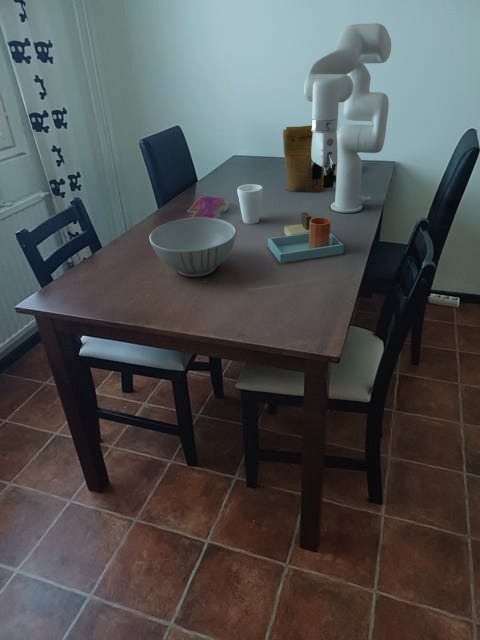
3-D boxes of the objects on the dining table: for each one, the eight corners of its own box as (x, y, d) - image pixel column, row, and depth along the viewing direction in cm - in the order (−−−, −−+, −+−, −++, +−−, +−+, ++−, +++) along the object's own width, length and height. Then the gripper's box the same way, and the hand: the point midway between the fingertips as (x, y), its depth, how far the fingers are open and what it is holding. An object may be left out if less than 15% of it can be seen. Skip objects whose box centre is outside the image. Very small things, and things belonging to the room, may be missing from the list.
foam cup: (260, 225, 180) (260, 192, 173) (237, 225, 182) (235, 191, 175) (264, 216, 188) (264, 184, 181) (241, 216, 190) (240, 183, 183)
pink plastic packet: (215, 230, 179) (214, 217, 176) (178, 228, 182) (176, 215, 179) (234, 203, 203) (234, 191, 200) (201, 202, 206) (199, 190, 203)
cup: (324, 242, 163) (325, 216, 158) (332, 250, 158) (333, 223, 153) (306, 245, 162) (306, 218, 157) (313, 253, 157) (314, 225, 152)
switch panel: (314, 228, 175) (314, 220, 174) (323, 237, 168) (324, 229, 166) (283, 232, 173) (283, 224, 172) (291, 242, 166) (291, 234, 164)
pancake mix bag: (325, 194, 208) (328, 126, 193) (282, 192, 212) (282, 126, 197) (326, 189, 213) (330, 123, 198) (284, 188, 218) (285, 123, 203)
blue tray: (327, 238, 167) (327, 229, 165) (343, 254, 156) (343, 244, 154) (268, 247, 163) (268, 238, 161) (280, 264, 152) (280, 254, 150)
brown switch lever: (301, 224, 171) (301, 212, 168) (305, 224, 171) (306, 211, 169) (306, 229, 167) (306, 216, 164) (310, 229, 167) (311, 216, 165)
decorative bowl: (206, 296, 137) (203, 257, 130) (137, 276, 149) (130, 241, 143) (253, 259, 156) (252, 224, 149) (188, 245, 168) (185, 212, 162)
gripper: (348, 129, 133) (344, 189, 142) (325, 119, 147) (322, 174, 156) (323, 131, 131) (320, 192, 141) (302, 121, 146) (301, 177, 155)
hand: (321, 183), depth 148 cm, fingers open, 9 cm apart
